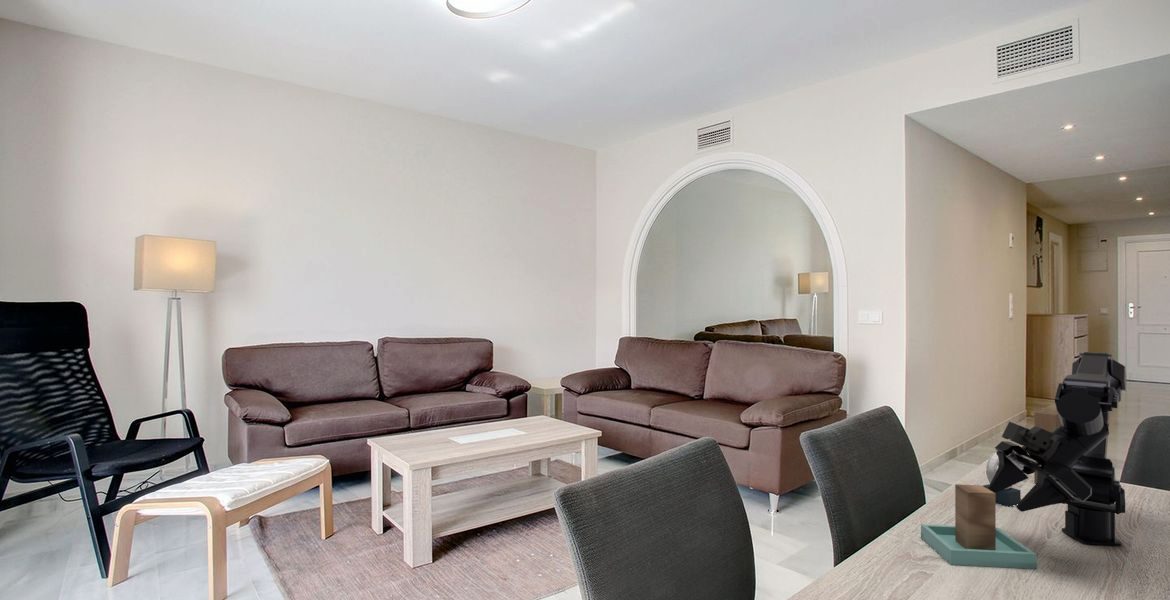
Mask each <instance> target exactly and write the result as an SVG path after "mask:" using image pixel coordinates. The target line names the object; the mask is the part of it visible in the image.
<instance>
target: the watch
mask: <svg viewBox="0 0 1170 600" xmlns="http://www.w3.org/2000/svg"><path fill="white" fill-rule="evenodd" d="M996 452H997V451H995V452H992V453H991V454H990V456H989V457H988V460H987V462H986V471H985V473H986V477H987V481H988V484H984V485H982V486H984V487H985V488H987V489H988V487H989V485H990V483H991V481H992V479H993V477H994V475H995V473H996V471H997V469H998V466H999V458H998V456H997V454H996ZM1021 500H1022V497H1021V490H1020V489H1017V488H1014V487H1013V485H1012V486H1010V487H1008V488H1006V489H1004V490H1002V491H999V492H997V493H995V503H996V505H1000V504H1001V506H1004V505H1005V506H1004V507H1007V506H1008V508H1010V506H1011V507H1014V506H1013V505H1015V506H1017V504H1018V503H1019V502H1020V501H1021Z"/></svg>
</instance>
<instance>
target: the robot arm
mask: <svg viewBox="0 0 1170 600" xmlns="http://www.w3.org/2000/svg"><path fill="white" fill-rule="evenodd" d="M1122 391H1127V374H1126V367H1125V365H1123V364H1122V363H1120V362H1118V361H1116V360H1115V359H1113V354H1112V353H1111V354H1109V353H1108V352H1097V351H1096V352H1094V351H1092V352H1091V351H1083V352H1079V355H1078V359H1076V360H1075V361H1074V362H1072V364H1071V374H1068V375H1066V376H1065V377H1064V378H1063V381H1062V382H1060V383H1058V385H1057V389H1056V392H1055V396H1054V403H1055V407H1056V408H1055V409H1056V411H1057V412H1058V415H1059V418H1060V421H1061V424H1060V425H1059V426H1058V427H1057V428H1056V429H1055V430H1054V431H1052V432H1049V431H1046V430H1044V429H1042V428H1039V427H1036V426H1034V425H1033V426H1032V427H1031V428H1027V427H1024V426H1022V425H1019V424H1017V423H1014V422H1011V421H1008V424H1007V425H1006V427H1005V429H1004V431H1003V433H1002V434H1001V438H1003V439H1004V441H1002V440H1001V441H1000V442H999V444H997V445H996V446H995V447H994V450H996V451H995V452H996V454H997V456H998V458H999V466H998V465H997V471H996V473H995V475H994V477H993V479H992V481H991V483H989V484H990V485H989V487H988V489H989V490H990V491H992V492H994V493H997V492H999V491H1002V490H1004V489H1006V488H1008V487H1010V486H1012V485H1016V484H1018V483H1021V482H1023V481H1025V480H1027V479H1029V475H1032V474H1034V472H1035V471H1036V472H1038V475H1037V483H1035V485H1033V486H1032V488H1031V489H1030V490H1029V491H1028V492H1027V493H1025V495H1024V496H1023V497H1022V498H1021V501H1020V502H1019V503H1018V505H1015V508H1016V509H1017V510H1019V512H1021V513H1023V512H1027V511H1028V512H1029V511H1031V510H1035V509H1040V508H1044V507H1048V506H1049V507H1050V506H1053V505H1058V504H1063V505H1067V510H1065V512H1064V518H1065V519H1064V527H1062V528H1061V531H1062V533H1065V534H1066V535H1068V536H1071V538H1074V539H1075V540H1077V541H1079V542H1080V543H1082V544H1085V545H1099V546H1101V545H1104V546H1105V545H1106V546H1123V542H1122V541H1119V540H1117V539H1116V515H1120V514H1126V493H1125V492H1126V490H1125V489H1124V488H1123V487H1122V485H1121V482H1120V480H1116V472H1115V471H1116V470H1115V466H1113V465H1114V464H1113V461H1112V460H1111V458H1108V457H1107V454H1108V443H1109V435H1110V430H1109V428H1110V417H1111V412H1113V411H1114V409H1118V405H1119V403H1120V402H1121V400H1122ZM1005 439H1006V440H1008V441H1005ZM1012 487H1013V486H1012Z"/></svg>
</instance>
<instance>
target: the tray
mask: <svg viewBox="0 0 1170 600" xmlns="http://www.w3.org/2000/svg"><path fill="white" fill-rule="evenodd" d="M920 538H921V539H922V540H924V542H926V543H927V544H928V545H929V546H930V547H931V548H932V549H933V550H934V551H935V552H936V553H937V554H938V555H940V556H941V558H943V559H944V560H945V561H946V562H947V563H949V565H952V566H953V565H954V566H968V567H969V566H970V567H971V566H972V567H990V568H991V567H993V568H1007V569H1009V568H1010V569H1011V568H1012V569H1029V570H1037V569H1038V568H1037V567H1038V565H1037V564H1038V563H1037V562H1038V559H1037V558H1038V555H1037V553H1035V552H1034V551H1033V550H1031V549H1029V548H1028V547H1026V546H1025V545H1024V544H1022V543H1020V542H1019V541H1018V540H1017V539H1015V538H1013V537H1012V536H1010V535H1009V534H1008V533H1007V532H1005V531H1003V530H1001V529H1000V528H998V527H996V550H976V549H965V548H963V547H962V546H961V545H960V544H959V543H957V542H956V541H955V525H946V524H944V525H942V524H925V523H922V524H920Z"/></svg>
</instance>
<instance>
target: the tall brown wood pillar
mask: <svg viewBox="0 0 1170 600" xmlns="http://www.w3.org/2000/svg"><path fill="white" fill-rule="evenodd" d="M954 488H955V489H954V494H955V495H954V496H955V497H954V499H955V503H954V504H955V505H954V506H955V510H954V512H955V516H954V517H955V523H954V524H955V525H954V526H955V541H956V542H957V543H959V544H960V545H961V546H962V547H963V548H965V549H976V550H996V528H997V527H996V525H997V524H996V519H997V518H996V513H997V511H996V507H997V506H996V505H997V503H995V493H994V492H992V491H990V490H989V489H987V488H985V487H984V486H983V485H981V484H955V486H954Z"/></svg>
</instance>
